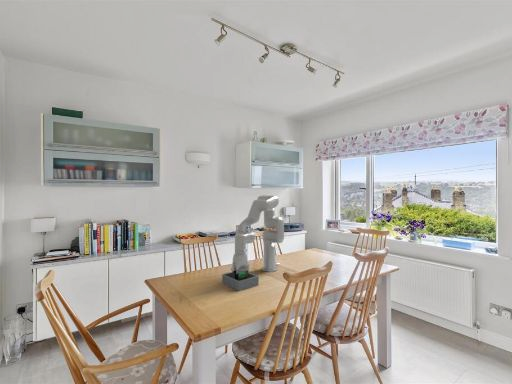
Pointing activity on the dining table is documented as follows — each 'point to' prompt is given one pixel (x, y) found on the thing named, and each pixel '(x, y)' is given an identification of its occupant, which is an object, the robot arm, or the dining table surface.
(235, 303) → the dining table surface
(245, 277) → the food container
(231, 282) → the crate
